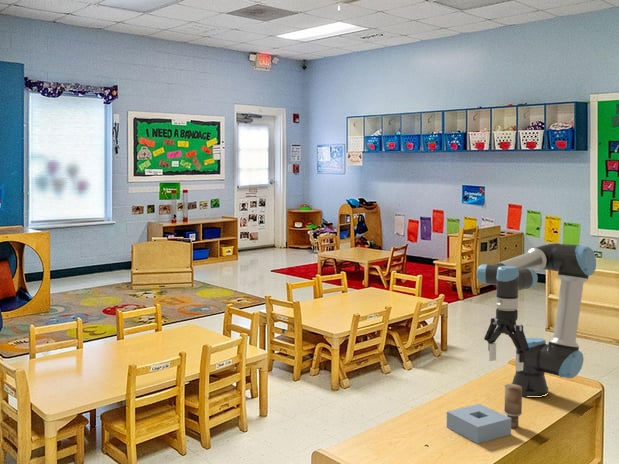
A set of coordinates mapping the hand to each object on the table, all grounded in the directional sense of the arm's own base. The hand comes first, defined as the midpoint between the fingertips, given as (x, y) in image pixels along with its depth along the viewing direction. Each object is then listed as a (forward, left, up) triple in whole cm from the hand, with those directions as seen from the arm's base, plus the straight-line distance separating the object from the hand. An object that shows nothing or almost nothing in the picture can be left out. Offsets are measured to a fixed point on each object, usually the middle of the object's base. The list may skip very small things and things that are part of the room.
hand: (505, 365), depth 227 cm
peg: (-2, +2, -23) cm, 23 cm away
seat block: (+12, -1, -23) cm, 26 cm away
